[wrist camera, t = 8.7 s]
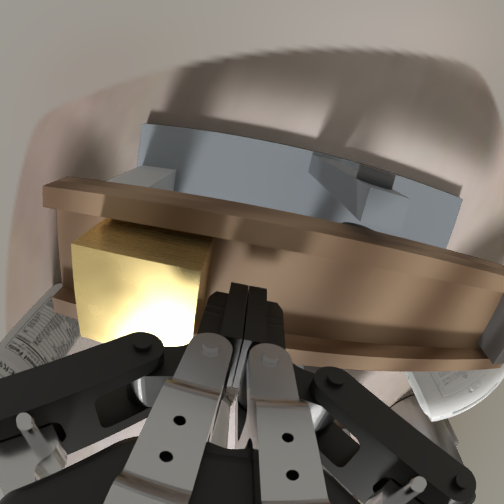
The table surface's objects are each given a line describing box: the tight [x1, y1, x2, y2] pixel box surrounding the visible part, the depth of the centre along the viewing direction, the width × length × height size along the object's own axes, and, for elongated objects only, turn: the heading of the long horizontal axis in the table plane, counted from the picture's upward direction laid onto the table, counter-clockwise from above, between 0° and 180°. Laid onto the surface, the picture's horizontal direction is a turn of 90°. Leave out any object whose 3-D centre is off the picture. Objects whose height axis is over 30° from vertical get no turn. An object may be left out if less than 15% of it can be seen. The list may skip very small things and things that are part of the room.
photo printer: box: [404, 364, 504, 422], centre depth 26 cm, size 10×4×12 cm, turn 119°
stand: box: [107, 124, 463, 373], centre depth 20 cm, size 30×13×14 cm, turn 79°
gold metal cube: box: [71, 218, 214, 346], centre depth 12 cm, size 5×4×4 cm
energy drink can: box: [0, 283, 81, 378], centre depth 24 cm, size 6×6×15 cm
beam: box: [43, 177, 504, 372], centre depth 14 cm, size 30×7×4 cm, turn 79°
